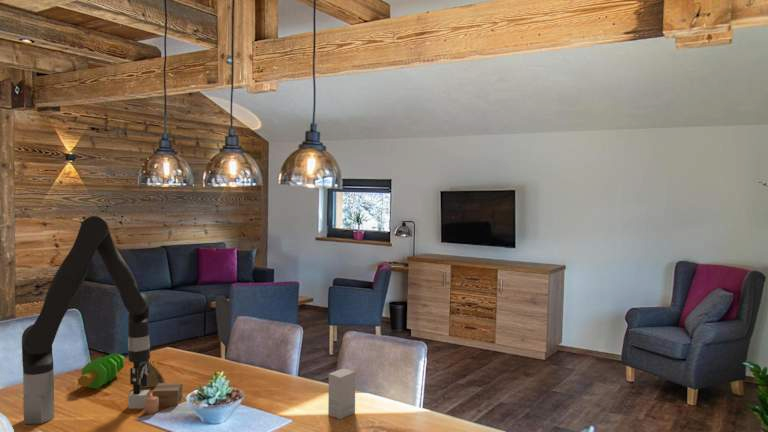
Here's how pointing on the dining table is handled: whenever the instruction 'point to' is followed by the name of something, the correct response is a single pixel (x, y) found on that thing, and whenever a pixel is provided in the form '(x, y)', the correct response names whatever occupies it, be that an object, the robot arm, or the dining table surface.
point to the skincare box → (341, 393)
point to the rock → (153, 377)
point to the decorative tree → (101, 371)
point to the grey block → (138, 399)
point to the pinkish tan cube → (151, 405)
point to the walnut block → (169, 393)
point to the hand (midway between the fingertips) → (140, 390)
